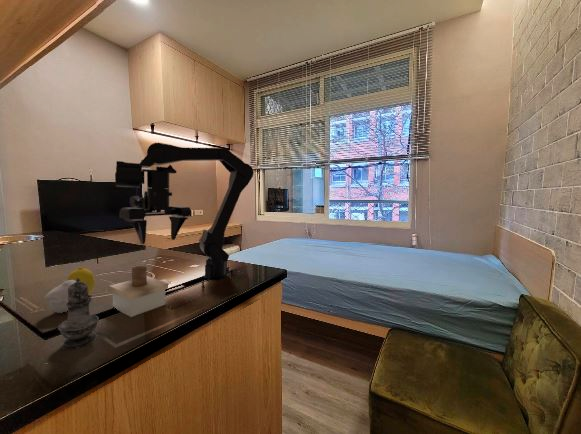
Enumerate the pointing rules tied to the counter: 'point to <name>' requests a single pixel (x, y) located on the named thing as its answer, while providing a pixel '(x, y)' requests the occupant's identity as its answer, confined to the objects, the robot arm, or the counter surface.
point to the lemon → (83, 277)
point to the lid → (138, 285)
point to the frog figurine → (59, 297)
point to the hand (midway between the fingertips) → (158, 241)
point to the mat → (170, 283)
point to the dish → (139, 303)
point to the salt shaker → (78, 318)
